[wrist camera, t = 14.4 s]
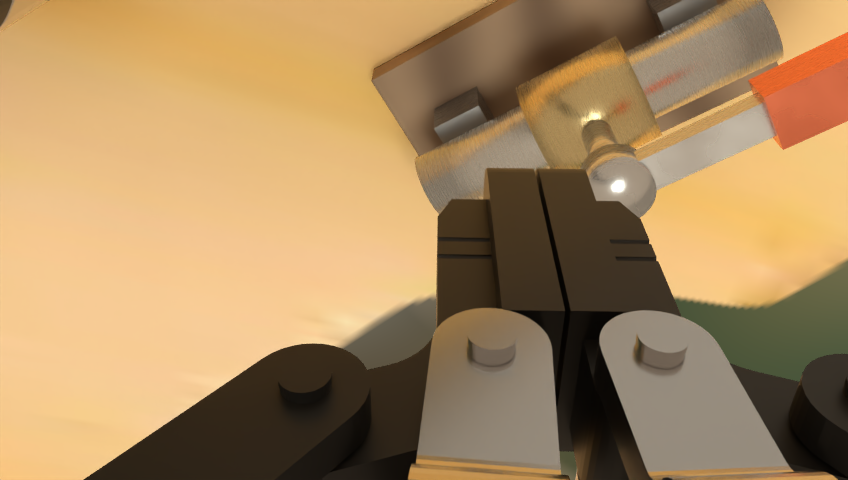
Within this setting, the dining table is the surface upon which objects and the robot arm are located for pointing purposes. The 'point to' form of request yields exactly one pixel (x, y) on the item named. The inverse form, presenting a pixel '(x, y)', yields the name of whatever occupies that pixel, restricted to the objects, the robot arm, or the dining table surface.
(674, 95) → the pipe valve
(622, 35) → the base board
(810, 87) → the valve lever
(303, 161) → the dining table surface
